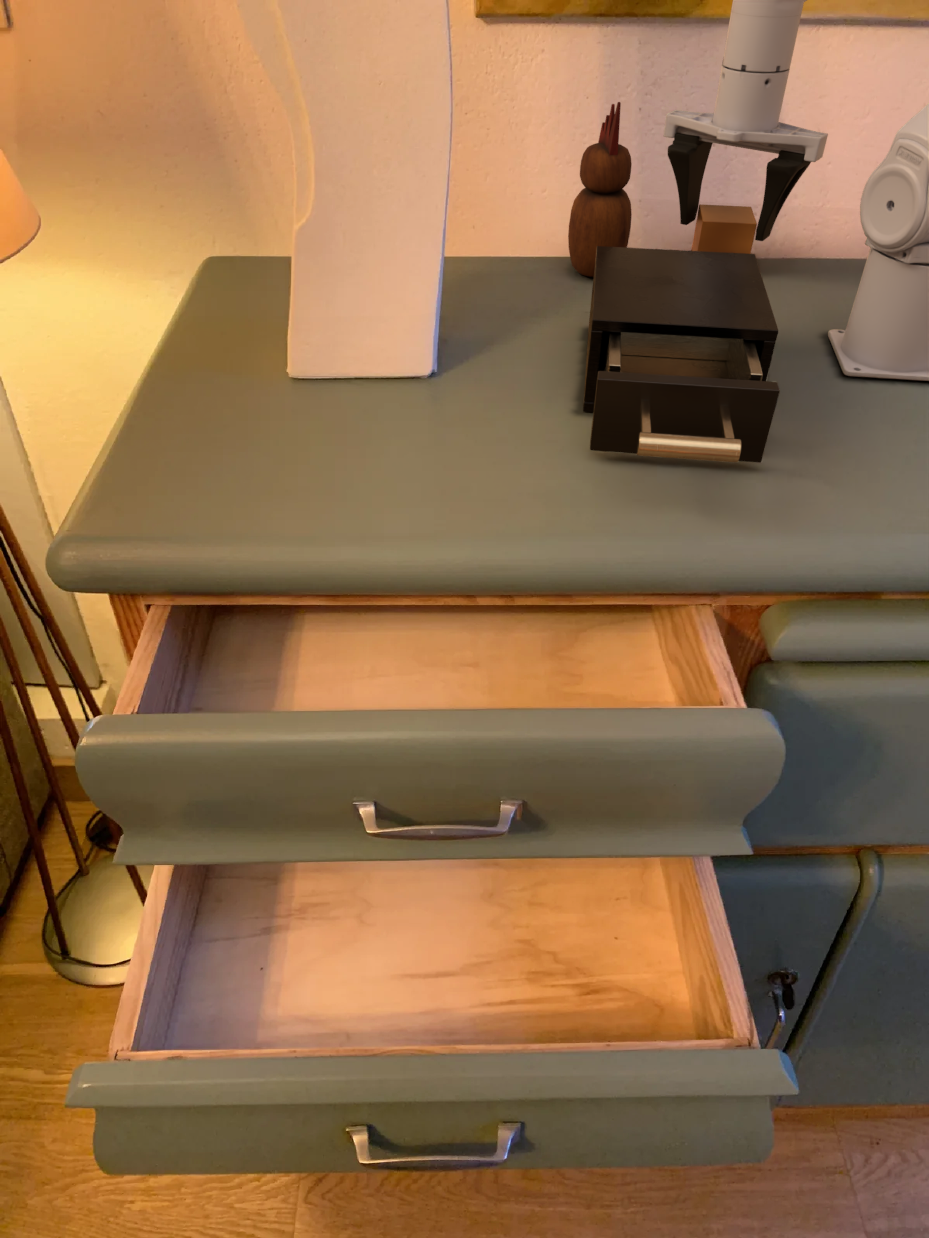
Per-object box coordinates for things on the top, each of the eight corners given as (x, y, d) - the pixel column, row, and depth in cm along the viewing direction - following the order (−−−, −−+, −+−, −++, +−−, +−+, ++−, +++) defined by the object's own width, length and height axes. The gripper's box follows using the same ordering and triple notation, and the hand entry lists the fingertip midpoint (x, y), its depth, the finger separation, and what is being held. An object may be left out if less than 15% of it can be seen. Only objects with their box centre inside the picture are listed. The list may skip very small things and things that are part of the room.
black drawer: (771, 511, 55) (793, 436, 52) (587, 497, 56) (595, 423, 53) (741, 371, 69) (756, 304, 66) (594, 362, 70) (601, 296, 67)
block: (740, 258, 90) (751, 206, 87) (745, 277, 86) (757, 223, 83) (690, 256, 90) (699, 204, 87) (693, 274, 87) (702, 221, 83)
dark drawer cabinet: (755, 423, 65) (778, 330, 60) (582, 412, 66) (592, 319, 62) (736, 338, 76) (755, 254, 71) (588, 329, 77) (596, 246, 72)
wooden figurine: (622, 286, 84) (644, 108, 74) (561, 281, 85) (575, 104, 75) (627, 261, 89) (648, 90, 79) (569, 256, 90) (583, 87, 80)
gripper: (658, 64, 78) (637, 226, 87) (823, 85, 71) (782, 258, 80) (692, 51, 82) (669, 207, 91) (850, 71, 76) (808, 236, 85)
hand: (724, 229), depth 86 cm, fingers open, 7 cm apart
